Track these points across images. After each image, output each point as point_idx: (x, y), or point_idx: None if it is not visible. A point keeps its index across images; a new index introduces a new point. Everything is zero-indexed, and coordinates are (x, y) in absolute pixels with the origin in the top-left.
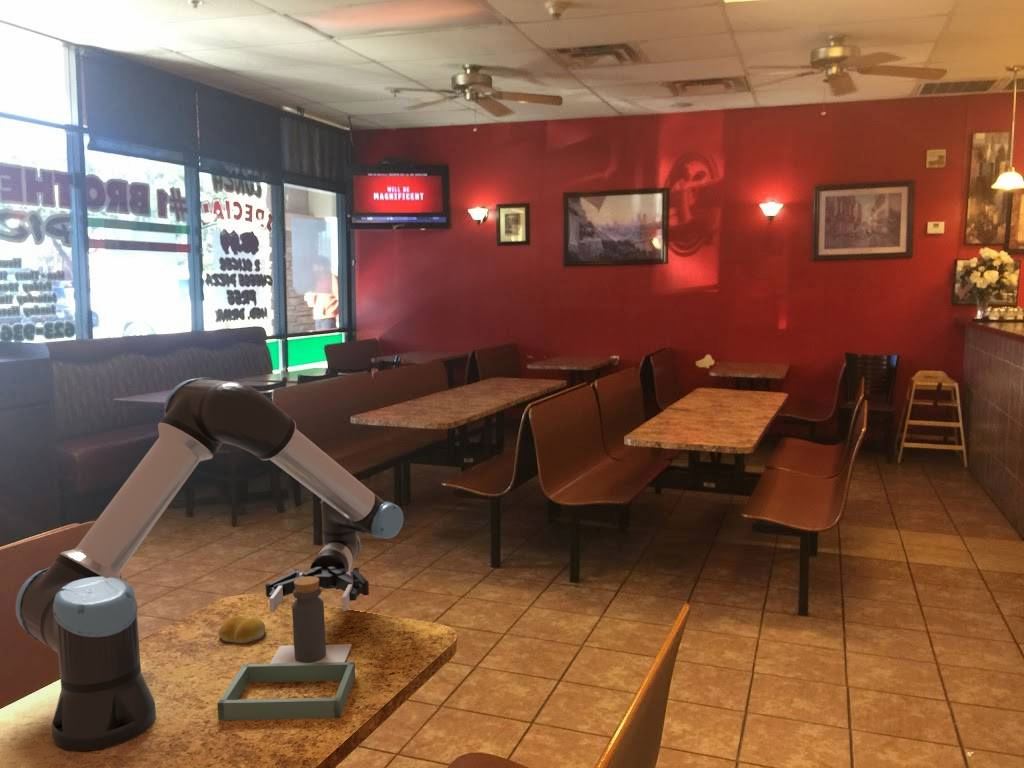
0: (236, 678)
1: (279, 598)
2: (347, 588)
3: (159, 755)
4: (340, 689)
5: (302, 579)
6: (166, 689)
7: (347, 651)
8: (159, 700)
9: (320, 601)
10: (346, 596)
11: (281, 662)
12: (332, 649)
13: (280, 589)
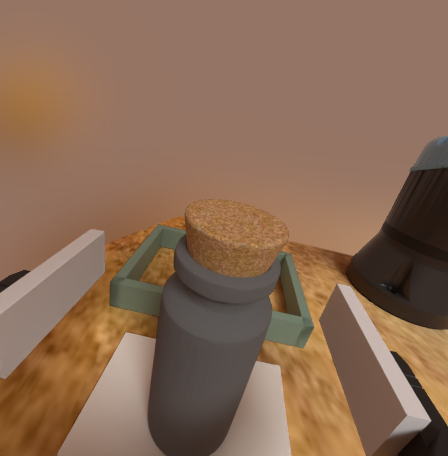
0: (298, 289)
1: (353, 372)
2: (38, 278)
3: (306, 247)
4: (153, 236)
5: (258, 227)
6: (411, 351)
7: (81, 416)
8: (389, 323)
9: (174, 275)
10: (84, 236)
11: (256, 390)
12: (121, 446)
13: (380, 372)
